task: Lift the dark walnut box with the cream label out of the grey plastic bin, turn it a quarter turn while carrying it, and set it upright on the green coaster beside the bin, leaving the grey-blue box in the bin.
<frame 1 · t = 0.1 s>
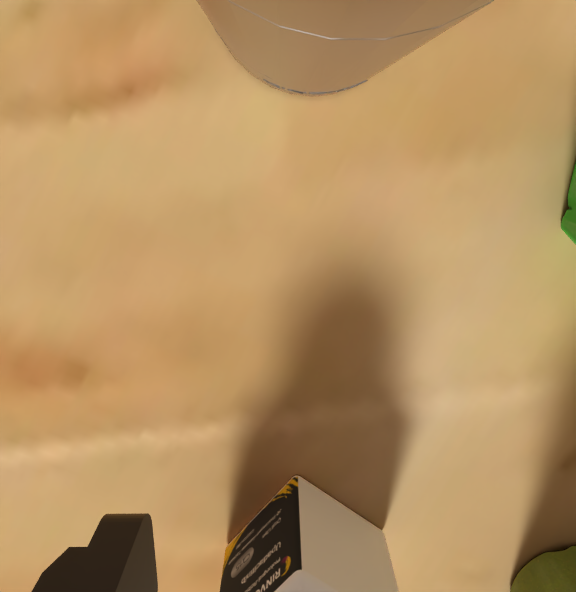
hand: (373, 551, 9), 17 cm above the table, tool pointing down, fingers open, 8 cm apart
medicine bottle: (304, 535, 31), on the table
plant pot: (563, 582, 32), on the table
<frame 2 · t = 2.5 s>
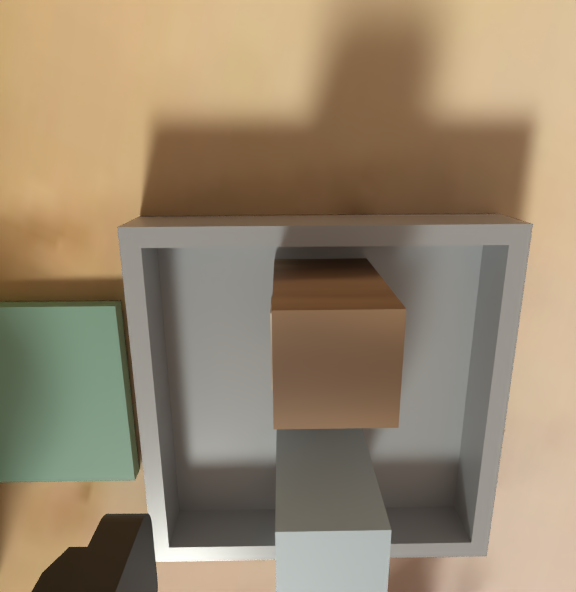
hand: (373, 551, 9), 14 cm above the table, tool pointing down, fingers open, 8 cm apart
walnut box: (319, 302, 22), point 1 cm above the table, touching bin
bin: (317, 378, 24), on the table
grey-blue box: (317, 457, 24), point 1 cm above the table, touching bin
coaster: (36, 391, 23), on the table
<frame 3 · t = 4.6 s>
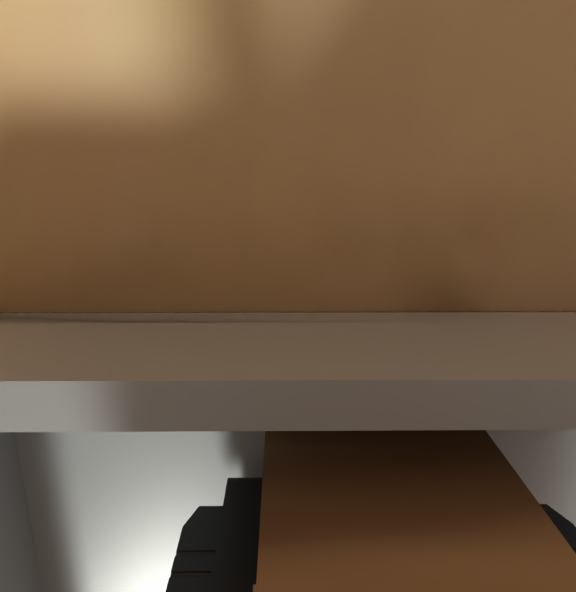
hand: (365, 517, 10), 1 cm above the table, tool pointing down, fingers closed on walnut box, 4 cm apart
walnut box: (363, 494, 10), point 1 cm above the table, touching bin, gripper
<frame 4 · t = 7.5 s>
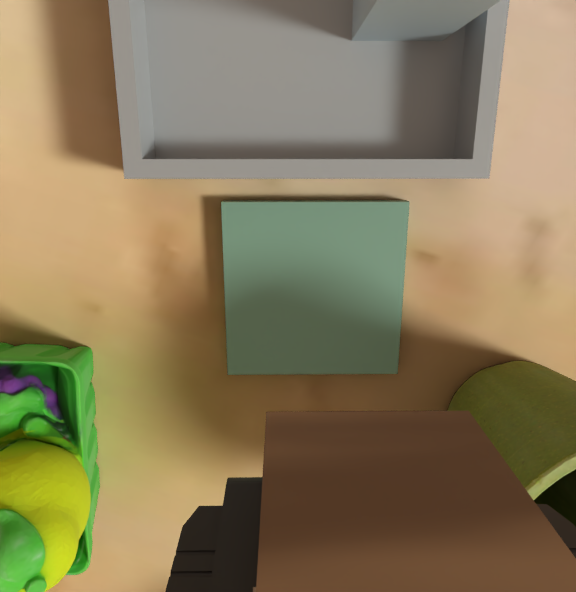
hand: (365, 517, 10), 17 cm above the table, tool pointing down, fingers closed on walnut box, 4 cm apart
walnut box: (363, 496, 10), point 16 cm above the table, touching gripper
fruit basket: (62, 415, 28), on the table
coaster: (313, 288, 25), on the table
plant pot: (503, 413, 28), on the table
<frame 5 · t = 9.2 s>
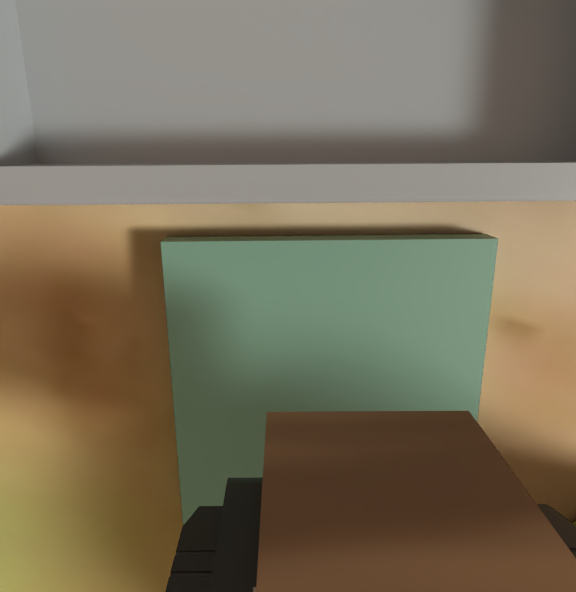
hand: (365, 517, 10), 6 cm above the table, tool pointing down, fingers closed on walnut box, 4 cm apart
walnut box: (363, 496, 10), point 5 cm above the table, touching gripper
coaster: (325, 381, 15), on the table
when the fingers open (3 cm above the table, at t = 10.7 s): walnut box drops 1 cm, resting on coaster.
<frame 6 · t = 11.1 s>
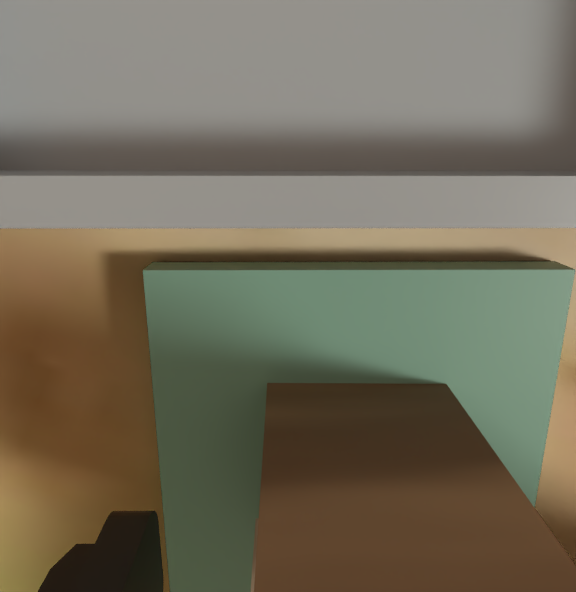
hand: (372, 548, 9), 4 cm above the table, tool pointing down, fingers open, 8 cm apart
walnut box: (352, 461, 11), point 1 cm above the table, touching coaster
coaster: (347, 438, 12), on the table
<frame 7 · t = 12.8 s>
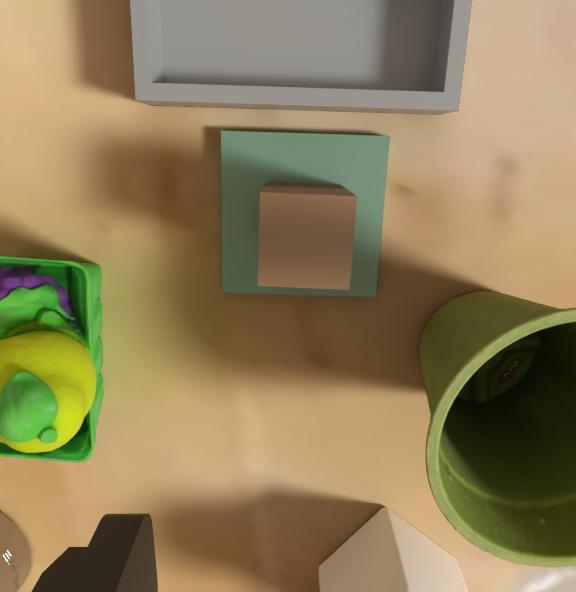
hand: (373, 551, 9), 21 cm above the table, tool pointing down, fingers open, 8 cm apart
walnut box: (302, 219, 27), point 1 cm above the table, touching coaster
fruit basket: (72, 329, 31), on the table
coaster: (301, 216, 28), on the table
medicine bottle: (385, 559, 35), on the table
plant pot: (473, 342, 31), on the table
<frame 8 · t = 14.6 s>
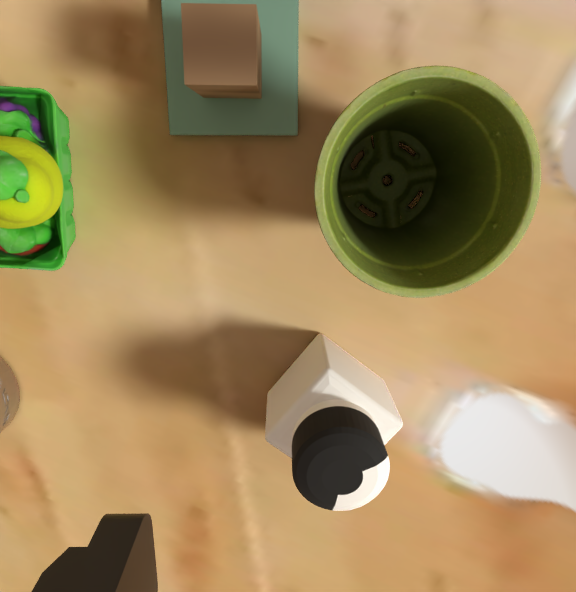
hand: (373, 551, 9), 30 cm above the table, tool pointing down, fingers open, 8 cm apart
walnut box: (232, 66, 33), point 1 cm above the table, touching coaster
fruit basket: (47, 177, 36), on the table
coaster: (232, 67, 34), on the table
medicine bottle: (325, 385, 41), on the table
plant pot: (384, 177, 37), on the table
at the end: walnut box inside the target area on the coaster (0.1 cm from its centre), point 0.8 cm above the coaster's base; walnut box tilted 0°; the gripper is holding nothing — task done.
